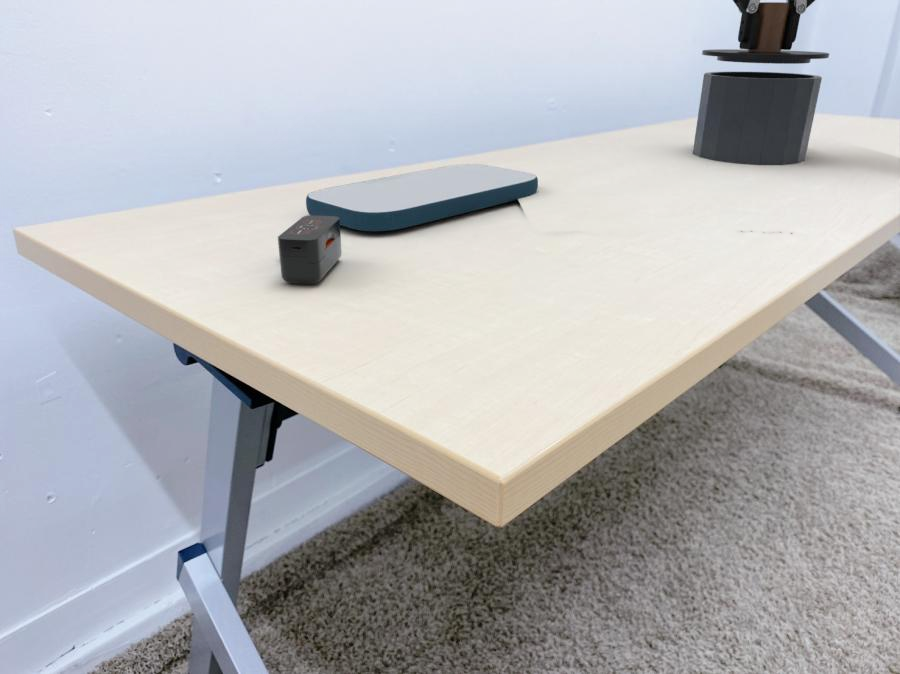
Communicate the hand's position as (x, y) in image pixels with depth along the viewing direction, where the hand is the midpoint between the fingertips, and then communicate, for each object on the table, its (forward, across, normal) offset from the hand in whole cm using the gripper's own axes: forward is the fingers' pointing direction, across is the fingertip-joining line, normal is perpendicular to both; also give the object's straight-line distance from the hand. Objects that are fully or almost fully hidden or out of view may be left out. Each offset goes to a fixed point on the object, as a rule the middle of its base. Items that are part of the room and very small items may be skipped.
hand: (764, 47), depth 88 cm
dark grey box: (+14, -51, -44) cm, 69 cm away
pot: (+14, 0, 0) cm, 14 cm away
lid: (+1, 0, 0) cm, 1 cm away
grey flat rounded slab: (+14, -42, -25) cm, 51 cm away
